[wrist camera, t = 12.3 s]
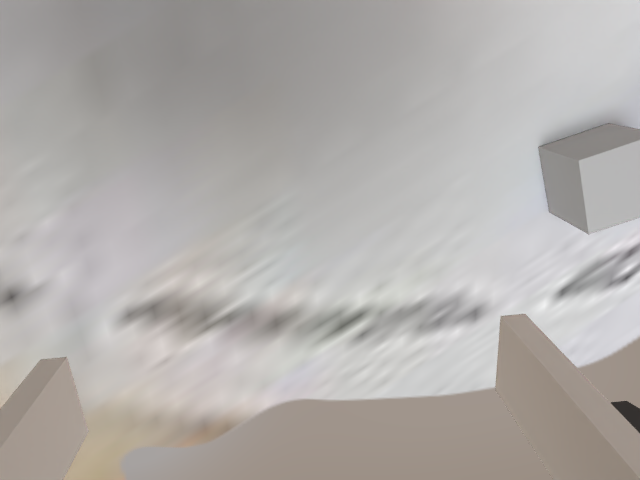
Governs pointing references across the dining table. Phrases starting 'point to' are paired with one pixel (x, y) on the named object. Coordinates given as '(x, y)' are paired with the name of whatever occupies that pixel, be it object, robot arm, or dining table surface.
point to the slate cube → (594, 177)
